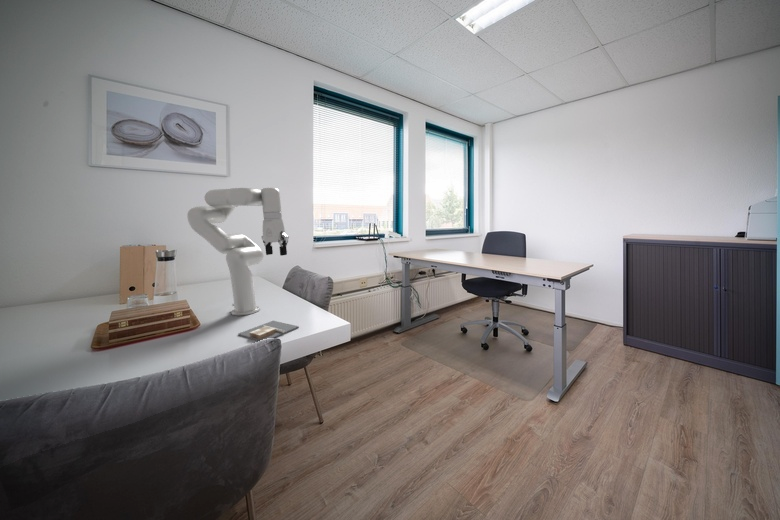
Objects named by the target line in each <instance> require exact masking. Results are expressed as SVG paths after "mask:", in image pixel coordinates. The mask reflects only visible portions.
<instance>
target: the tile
mask: <svg viewBox="0 0 780 520" xmlns="http://www.w3.org/2000/svg"><path fill="white" fill-rule="evenodd" d="M274 333H276V329H275V328H271V327H267V326H265V327H262V328H260V329H257V330H255V331H252V332H250V337H254V338H257V339H262V338H264V337H267V336H269V335H271V334H274Z"/></svg>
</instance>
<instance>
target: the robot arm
mask: <svg viewBox="0 0 780 520" xmlns="http://www.w3.org/2000/svg"><path fill="white" fill-rule="evenodd" d="M280 194H281V193H280V190H279V189H278V188H276V187H262V188H253V187H235V188H233V187H232V188H219V189H217V188H216V189H210V190H208V191H206V193H205V194H204V201H205V203H206V204H207V206H206V205H205V206H203V205H201V206H200V205H199V206H194V207H191V208H190V209H189V210H188V212H187V222H188V224H189V226H190V228H191V229H192V230H193V231H194V232H195V233H196V234H197V235H198V236H200V237H202V238H203V239H204V240H206V241H207V242H208V243H209V244H210V245H211V246H212V247H213V249H215V250H216V251H218V252H219V253H220V254H222V255H223V254H224V255H225V260H226V264H227V267H228V270H229V274H230V283H231V288H232V298H233V303H232V305H231V306H232V307H233V308H234V309H233V310H231V312H230V313H231V315H232V316H236V317H237V316H248V315H252V314H255V313H257V312H259V311H260V309H261V308H260V306H259V305H257V304H256V302H257V301H256V291H255V283H254V276H253V273H252V271H251V270H250V268H249V267H250V266H251V267H252V266H255V265H258V264H260V263H261V262H263V260H264V252H263V250H262V249H261V248H260V246H258V245H257V244H256V243H255V242H254V241H252V240H251V239H250V238H249V237H247V236H246V235H244V234H242V233H227V232H225V231H224V230H222V229H221V228H220V227H219V226H217V225H215V224H223V223H224V222H226V221H227V220H228V219H229V217H230V216H231V214H232V213H233V212H234V210H235V208H237V207H239V206H240V207H241V206H243V207H244V206H247V207H248V206H250V207H253V206H254V207H262V215H263V221H262V235H261V240H262V243H263V245H264V248H265V255H266V256H269V255H273V253H274V251H273V245H272V243H278V245H279V255H280V256H287V254H288V250H287V246H288V243H289V238H290V236H289V235H287V234H286V230H285V225H284V221H283V217H282V216H283V215H282V206H281V204H282V203H281V195H280Z"/></svg>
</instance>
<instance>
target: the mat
mask: <svg viewBox="0 0 780 520" xmlns="http://www.w3.org/2000/svg"><path fill="white" fill-rule="evenodd" d="M265 326H267V327H271V328H275V329H276V333H274V334H271V335H269V336H267V337H264V338H262V339H257V338H254V337H250V332H252V331H255V330H257V329H260V328H262V327H265ZM299 328H300V327H299V325H294V324H290V323H285V322H281V321H276V320H272V321H271V320H270V321H269V322H266V323H263V324H261V325H258V326H255V327H252V328H249V329H247V330H244V331H243V332H239V333H238V334H237V335H238V336H241V337H243V338H247V339H250V340H252V341H253V340H254V341H256V342H260V340H263V339H267V338H274V337H276V338H279V337H280V336H283V335H286V334H287V333H288V334H289V333H290V332H292V331H294V330H296V329H299ZM274 339H275V338H274Z"/></svg>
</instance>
